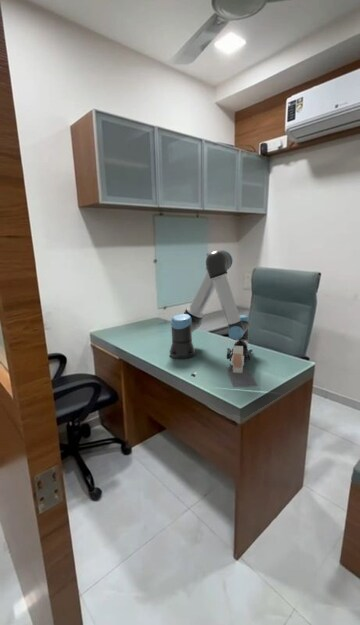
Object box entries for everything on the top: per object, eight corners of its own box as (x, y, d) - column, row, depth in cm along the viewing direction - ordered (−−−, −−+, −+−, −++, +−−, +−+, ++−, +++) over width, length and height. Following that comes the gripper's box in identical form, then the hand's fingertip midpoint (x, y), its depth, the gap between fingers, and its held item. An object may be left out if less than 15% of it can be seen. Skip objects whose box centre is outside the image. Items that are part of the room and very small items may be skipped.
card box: (234, 367, 158) (234, 345, 155) (242, 368, 157) (243, 346, 154) (232, 372, 152) (232, 349, 149) (242, 373, 151) (242, 350, 148)
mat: (226, 368, 159) (226, 367, 158) (247, 367, 158) (247, 366, 158) (233, 388, 137) (233, 386, 137) (257, 387, 137) (257, 386, 137)
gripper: (256, 354, 169) (255, 371, 147) (224, 352, 173) (219, 368, 151) (257, 341, 167) (256, 356, 145) (224, 340, 172) (219, 354, 150)
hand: (237, 362), depth 148 cm, fingers closed on card box, 4 cm apart
